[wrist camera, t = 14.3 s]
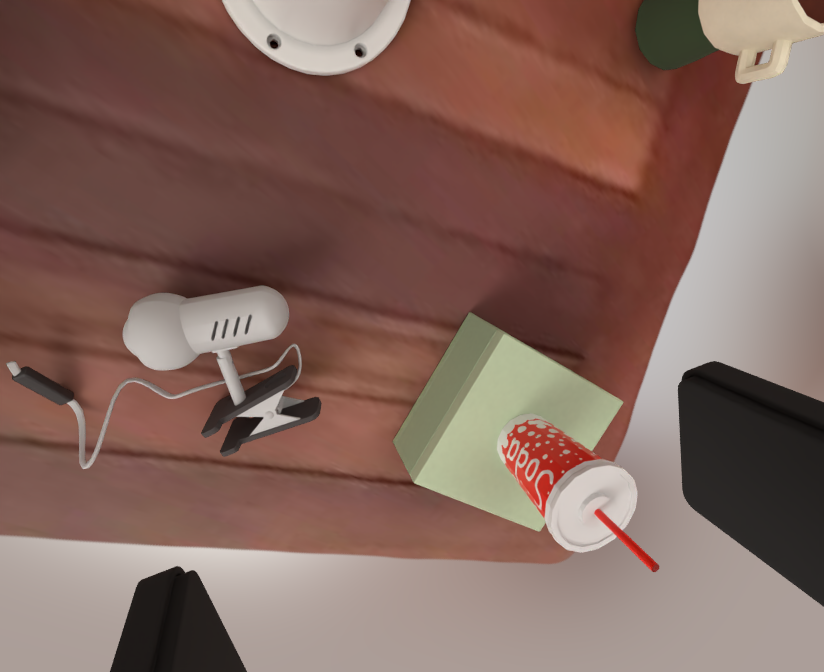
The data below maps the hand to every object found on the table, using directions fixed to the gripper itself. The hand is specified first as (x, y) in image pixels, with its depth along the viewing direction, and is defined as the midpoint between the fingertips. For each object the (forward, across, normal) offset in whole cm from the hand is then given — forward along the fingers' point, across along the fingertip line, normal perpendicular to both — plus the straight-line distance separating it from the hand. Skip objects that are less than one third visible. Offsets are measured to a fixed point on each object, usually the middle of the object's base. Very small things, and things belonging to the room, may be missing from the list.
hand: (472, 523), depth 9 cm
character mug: (+31, -32, -11) cm, 45 cm away
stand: (+30, -11, +16) cm, 36 cm away
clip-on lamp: (+31, +11, +4) cm, 33 cm away
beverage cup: (+24, -11, +16) cm, 31 cm away
